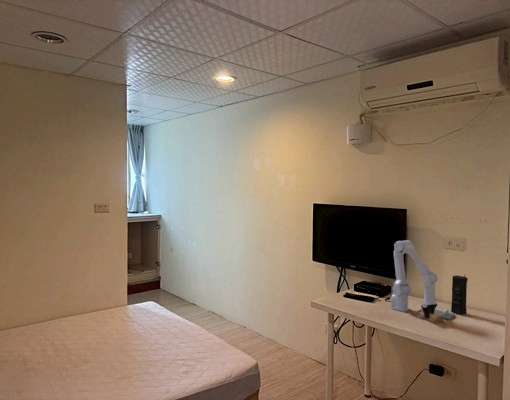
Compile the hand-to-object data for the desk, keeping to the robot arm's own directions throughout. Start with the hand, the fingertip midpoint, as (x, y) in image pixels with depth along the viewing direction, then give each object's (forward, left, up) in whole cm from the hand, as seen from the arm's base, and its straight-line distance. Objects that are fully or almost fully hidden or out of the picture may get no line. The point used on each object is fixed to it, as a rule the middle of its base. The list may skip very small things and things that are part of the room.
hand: (429, 316), depth 219 cm
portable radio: (+8, +24, -2) cm, 25 cm away
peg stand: (0, +11, -1) cm, 11 cm away
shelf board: (0, 0, -2) cm, 2 cm away
